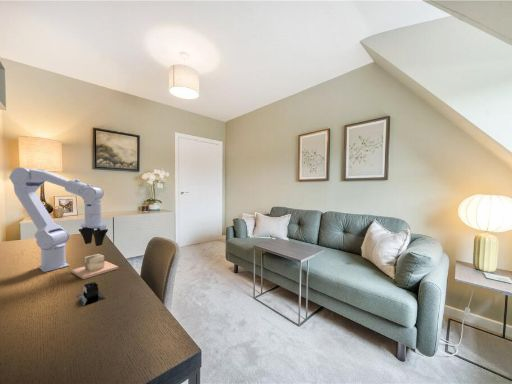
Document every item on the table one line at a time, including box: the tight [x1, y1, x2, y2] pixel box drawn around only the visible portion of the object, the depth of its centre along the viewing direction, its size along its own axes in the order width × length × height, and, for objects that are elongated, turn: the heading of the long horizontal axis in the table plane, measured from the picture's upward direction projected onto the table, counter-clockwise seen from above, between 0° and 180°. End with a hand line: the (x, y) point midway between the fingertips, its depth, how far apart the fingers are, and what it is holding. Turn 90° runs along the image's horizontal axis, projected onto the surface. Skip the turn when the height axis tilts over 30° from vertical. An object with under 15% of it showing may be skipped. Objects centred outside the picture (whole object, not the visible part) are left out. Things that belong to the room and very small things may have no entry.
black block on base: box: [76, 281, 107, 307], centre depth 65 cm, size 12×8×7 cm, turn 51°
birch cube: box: [84, 253, 105, 272], centre depth 86 cm, size 5×5×5 cm
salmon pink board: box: [71, 260, 119, 280], centre depth 86 cm, size 12×12×1 cm
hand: (93, 244), depth 91 cm, fingers open, 7 cm apart
